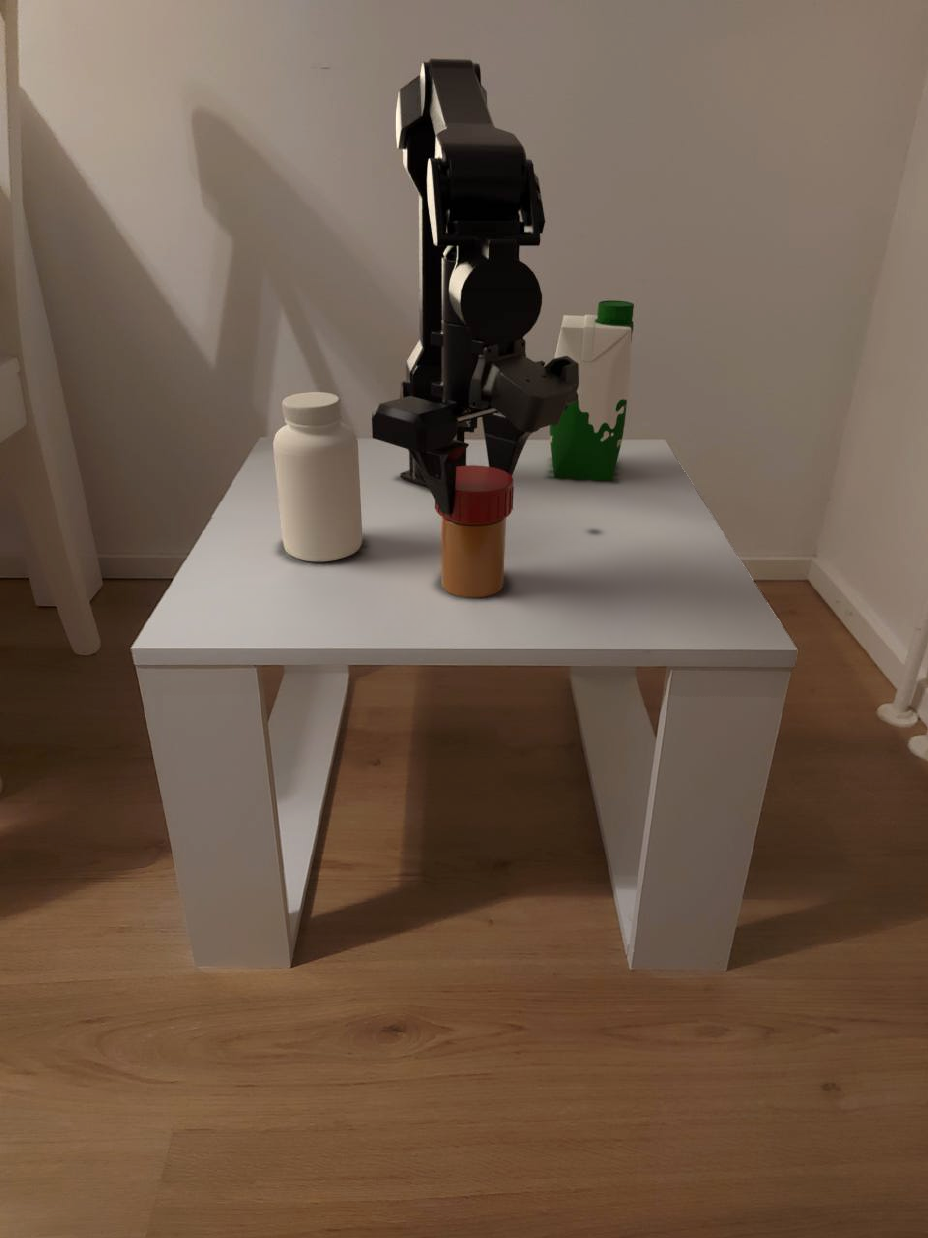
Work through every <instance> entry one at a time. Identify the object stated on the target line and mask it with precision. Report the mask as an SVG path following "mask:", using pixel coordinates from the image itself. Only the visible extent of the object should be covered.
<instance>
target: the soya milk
mask: <svg viewBox="0 0 928 1238" xmlns="http://www.w3.org/2000/svg"><path fill="white" fill-rule="evenodd" d="M634 308H635V303H633V302H630V301H627V300H626V301H625V300H613V299H612V300H602V301H599V302H598V307H597V315H595V314H585V315H572V314H571V315H570V314H564V315H563V317H562V322H561V326H560V331H559V335H558V339H557V345H556V350H555V353H554V358H559V357H563V356H568V357H570V358H571V359H573V360H574V361H576V362H577V363H578V364H579V387H578V390H577V393H578V396H579V397H578V401H577V402H574V403H571V404H568V408H567V410H564V411H563V414H562V417H561V419H560V422H559V424H558V425H555V426H552V425H549V443H550V453H551V463H552V472H553V478H556V479H570V480H571V479H572V480H585V481H601V482H613V479H614V476H615V471H616V467H617V463H618V460H619V456H620V451H621V447H622V442H623V438H624V437H623V436H624V430H625V425H626V415H627V408H628V396H629V388H630V378H631V364H632V342H633V332H634V325H635V324H634V321H633V318H634Z"/></svg>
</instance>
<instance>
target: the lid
mask: <svg viewBox="0 0 928 1238" xmlns="http://www.w3.org/2000/svg"><path fill="white" fill-rule="evenodd" d="M514 491H515V486H514V478H513V475H512V476H511V475H510V474H509V473H508V472H506V471H503V470H501V469H497V468H493V467H489V465H487V466H486V465H472V464H471V465H470V464H469V465H466V466H458V467H456V486H455V501H454V507H453V513H452V514H451V515H446V514H443V513H442V512H441V511H440V509H439V507H438V505H437V503H436V501H435V500H434V509H435V511H436V513H437V514H438V515H439V516H440V517H441V516H442V517H444V518H446V519H448V520H451V521H455V522H460V523H470V524H481V523H490V522H495V521H499V520H502V519H504V518H506V519H507V518H508V517H509V516H510V515H511V514H512V512H513V510H514Z"/></svg>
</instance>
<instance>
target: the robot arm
mask: <svg viewBox="0 0 928 1238" xmlns="http://www.w3.org/2000/svg"><path fill="white" fill-rule="evenodd" d="M395 111H396V112H395V137H396V138H395V139H396V148H397V150H402V162H403V163H402V165H403V167H404V170H405V171H406V174H407V175H408V177H409V179H410V180H411V183H412V184H413V186H414V188H415V191H416V192H417V194H418V271H419V273H418V275H419V276H418V277H419V279H418V281H419V282H418V283H419V284H418V286H419V288H418V289H419V291H418V292H419V298H418V299H419V340H418V341H417V343H416V345H415V347H414V348H413V350H412V352H411V353H410V355H409V357H408V358H407V360H406V363H405V380H401V381H400V389H399V398H396V399H392V400H388V401H384V402H380V403H378V405H377V406H376V407H375V409H373V411H372V413H371V432H372V433H371V435H372V439H374V440H377V441H380V442H383V443H386V444H390V445H392V446H396V447H400V448H402V449H403V448H404V449H406V450H407V451H408V462H409V463H408V464H409V465H408V466H409V468H408V470H405V471H403V472H400V473H399V478H400V479H403V480H405V481H409V482H412V483H414V484H417V485H420V486H423V487H426V488H428V489H429V491H430V493H431V495H432V497H433V499H434V502H435V501H436V503H437V505H438V507H439V509H440V511H441V512H442V513H443V514H446V515H451V514H452V513H453V507H454V501H455V486H456V467H458V466H467V448H468V447H469V445H470V444H469V443H468V442H465V433H469V434H470V433H473V434H474V433H475V429H478V419H479V418H481V420H482V427H483V434H484V441H485V448H486V455H487V461H488V467H493V468H497V469H501V470H503V471H506V472H508V473H509V474H510V475H511V476H512V477H513V475H514V472H515V470H516V468H517V465H518V462H519V459H520V457H521V454H522V452H523V450H524V448H525V445H526V444H527V443H526V442H527V441H528V439H529V437H530V436H531V435H532V434H533V433H536V432H538V431H539V430H540V429H542V428H546V427H550V425H552V426H555V425H558V424H559V422H560V419H561V417H562V414H563V411H564V410H567V408H568V404H571V403H574V402H577V401H578V397H579V396H578V393H577V390H578V387H579V364H578V363H577V362H576V361H574V360H573V359H571V358H570V357H568V356H563V357H559V358H555V357H554V358H552V359H551V360H550V361H549V362H548V363H546V362H545V361H544V360H538V361H535V360H532V359H530V358H529V357H527V353H526V343H527V341H526V340H525V339H524V337H525V336H526V335H527V334H528V333H529V332H530V331H531V330H532V329H533V328H534V326H535V325H536V324H537V322H538V320H539V317H540V314H541V312H542V306H543V293H542V292H543V291H542V289H541V285H540V282H539V280H538V277H537V276H536V274H535V272H534V271H533V270H532V269H531V268H530V267H529V266H528V264H526V263H524V262H523V261H521V260H520V249H521V248H520V247H540V245H541V235H542V234H543V232H544V229H545V224H546V216H545V211H544V205H543V197H542V193H541V186H540V179H539V176H538V175H537V174H536V173H535V168H534V163H533V160H532V159H530V158H529V159H528V158H527V153H526V150H525V147H524V145H523V144H522V143H521V141H520V140H519V139H518V137H517V136H516V135H515V133H513V132H510V131H506V130H503V129H501V128H498V127H495V124H494V121H493V118H492V116H491V112H490V110H489V107H488V92H487V90H486V89H485V87H484V86H483V85H482V71H481V66H480V63H478V62H473V61H472V59H465V58H463V59H461V58H459V59H458V58H430V59H428V61H422V63H421V68H420V73H419V74H418V75H417V76H416V77H415V78H413V79H412V80H410V81H409V82H408V83H406V84H405V85H404V86H403V87H401V88H400V89H399V90H398V95H397V103H396V109H395ZM521 220H522V221H521Z"/></svg>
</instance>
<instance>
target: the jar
mask: <svg viewBox="0 0 928 1238" xmlns="http://www.w3.org/2000/svg"><path fill="white" fill-rule="evenodd" d="M440 521H441V522H440V551H441V552H440V585H441V588H442V589H443V590H445V591H446V592H447V593H449V594H451V595H453V596H456V597H463V598H469V599H470V598H472V599H476V598H478V599H479V598H486V597H489V596H492V595H495V594H497V593H499V592H500V591H501V590H502V589H503V587H504V581H505V580H504V579H505V577H504V576H505V555H506V553H505V552H506V532H507V531H506V530H507V529H506V528H507V517H506V518H504V519H502V520H499V521H495V522H490V523H481V524H470V523H460V522H455V521H451V520H448V519H446V518H444V517H442V516H440Z"/></svg>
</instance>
